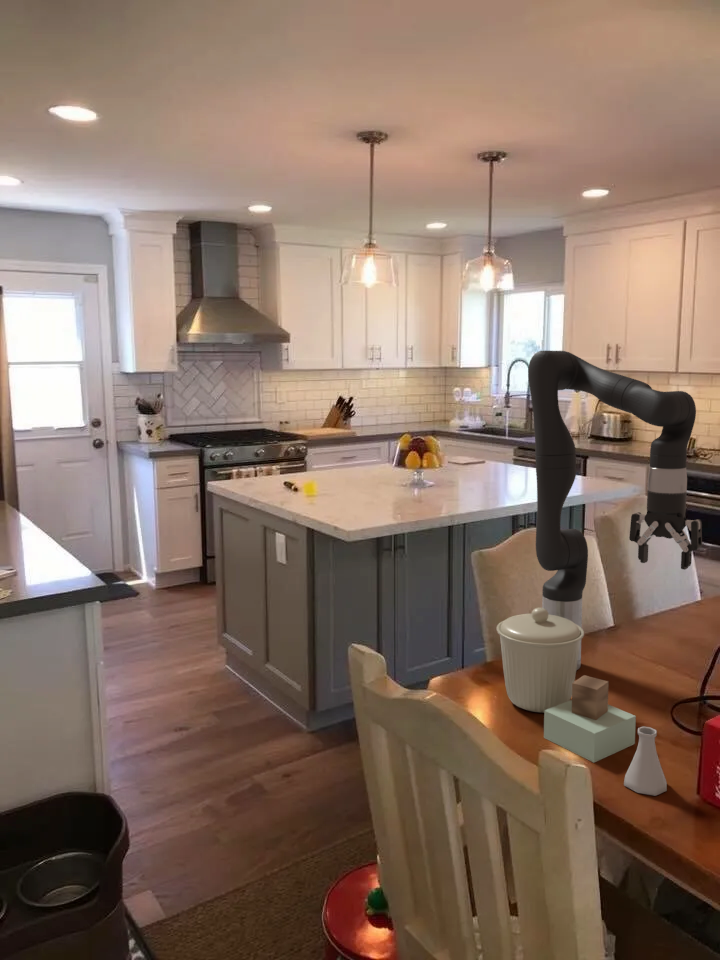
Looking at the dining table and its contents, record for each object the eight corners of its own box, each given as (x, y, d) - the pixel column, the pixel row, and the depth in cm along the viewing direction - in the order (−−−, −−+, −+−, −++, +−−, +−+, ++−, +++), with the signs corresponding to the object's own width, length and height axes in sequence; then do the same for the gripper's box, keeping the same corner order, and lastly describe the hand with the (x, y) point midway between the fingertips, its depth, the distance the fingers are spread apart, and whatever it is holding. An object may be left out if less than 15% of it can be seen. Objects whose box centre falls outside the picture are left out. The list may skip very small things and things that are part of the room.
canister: (598, 702, 167) (601, 607, 164) (550, 730, 155) (552, 628, 152) (527, 679, 181) (529, 590, 178) (478, 702, 168) (479, 608, 165)
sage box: (543, 739, 152) (544, 710, 151) (584, 722, 159) (585, 694, 158) (593, 764, 142) (594, 733, 142) (634, 745, 149) (635, 715, 148)
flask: (632, 770, 140) (634, 717, 138) (673, 783, 135) (676, 728, 134) (616, 787, 134) (618, 732, 133) (659, 801, 130) (661, 744, 128)
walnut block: (571, 712, 150) (572, 683, 149) (583, 704, 154) (584, 675, 153) (596, 720, 147) (596, 689, 146) (607, 711, 150) (608, 681, 150)
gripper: (709, 489, 158) (705, 567, 161) (641, 483, 168) (638, 556, 170) (695, 494, 153) (691, 575, 155) (625, 487, 163) (623, 563, 165)
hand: (663, 565), depth 163 cm, fingers open, 8 cm apart
